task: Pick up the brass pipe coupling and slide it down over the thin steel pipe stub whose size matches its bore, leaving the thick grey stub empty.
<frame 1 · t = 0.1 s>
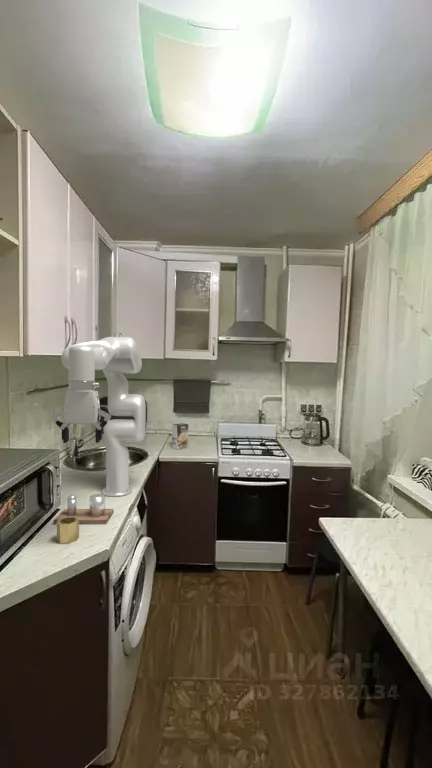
hand: (82, 442, 114), 31 cm above the worktop, tool pointing down, fingers open, 9 cm apart
pipe stubs: (86, 504, 132), on the pipe board, point 5 cm above the worktop
pipe board: (84, 518, 132), on the worktop
brass coupling: (68, 539, 116), on the worktop
coffee box: (180, 448, 249), on the worktop
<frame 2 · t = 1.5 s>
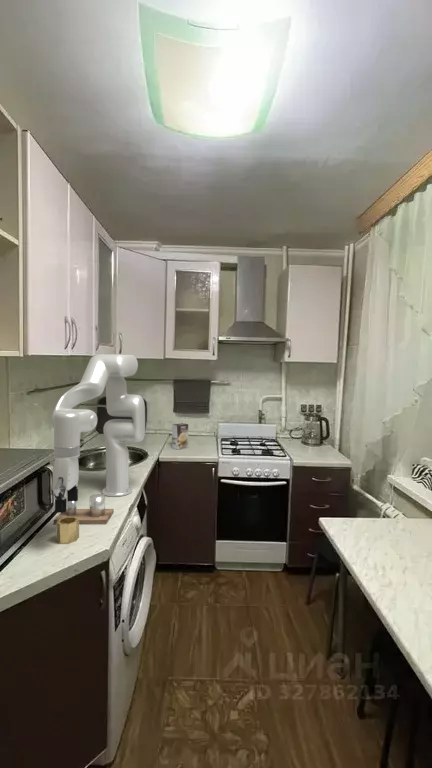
hand: (66, 506, 115), 11 cm above the worktop, tool pointing down, fingers open, 9 cm apart
nothing on the worktop moved.
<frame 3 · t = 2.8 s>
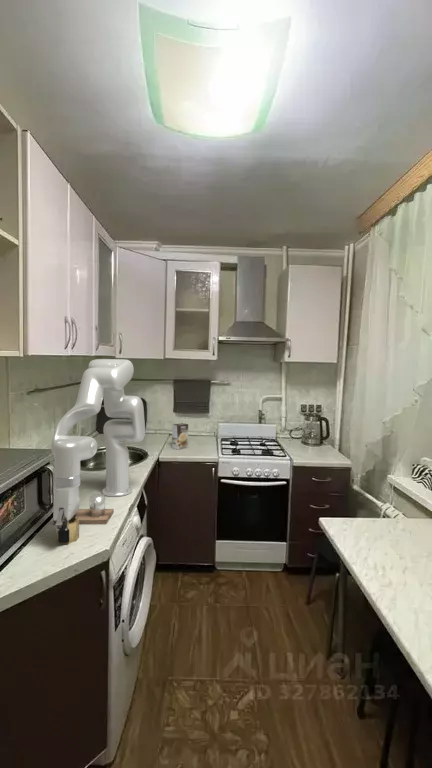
hand: (68, 536, 116), 1 cm above the worktop, tool pointing down, fingers closed on brass coupling, 6 cm apart
brass coupling: (68, 539, 116), on the worktop, touching gripper
everything else where it was.
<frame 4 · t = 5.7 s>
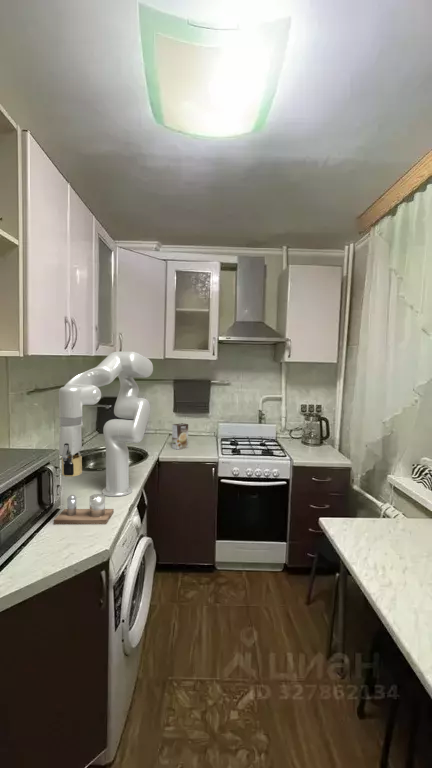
hand: (72, 471, 131), 17 cm above the worktop, tool pointing down, fingers closed on brass coupling, 6 cm apart
brass coupling: (72, 473, 131), point 16 cm above the worktop, touching gripper
everything else where it was.
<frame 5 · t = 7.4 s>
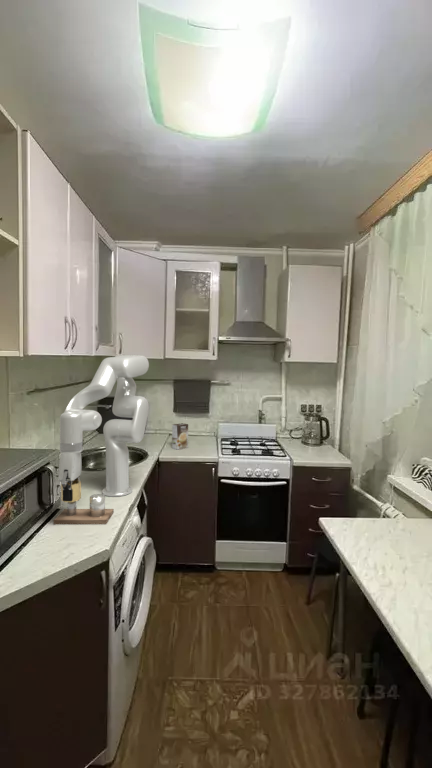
hand: (71, 497, 131), 8 cm above the worktop, tool pointing down, fingers closed on brass coupling, 6 cm apart
brass coupling: (71, 499, 131), point 7 cm above the worktop, touching gripper
everything else where it was.
when the fingers open (5 cm above the worktop, at t = 8.5 s): brass coupling drops 2 cm, resting on pipe board.
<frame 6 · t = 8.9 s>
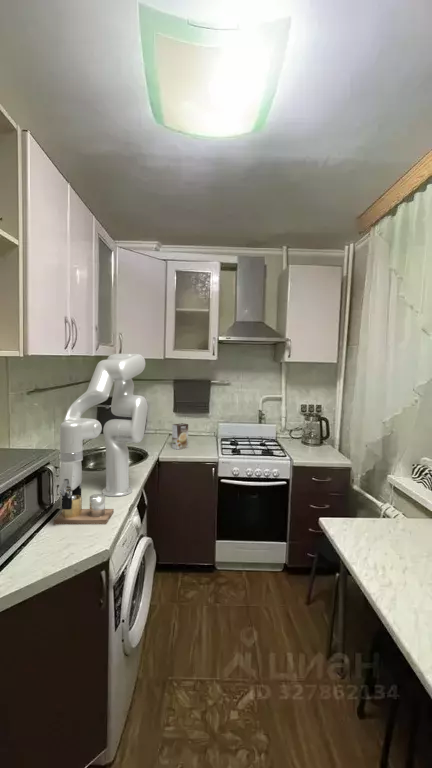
hand: (71, 503, 132), 5 cm above the worktop, tool pointing down, fingers open, 9 cm apart
brass coupling: (72, 514, 132), point 1 cm above the worktop, touching pipe board
everything else where it was.
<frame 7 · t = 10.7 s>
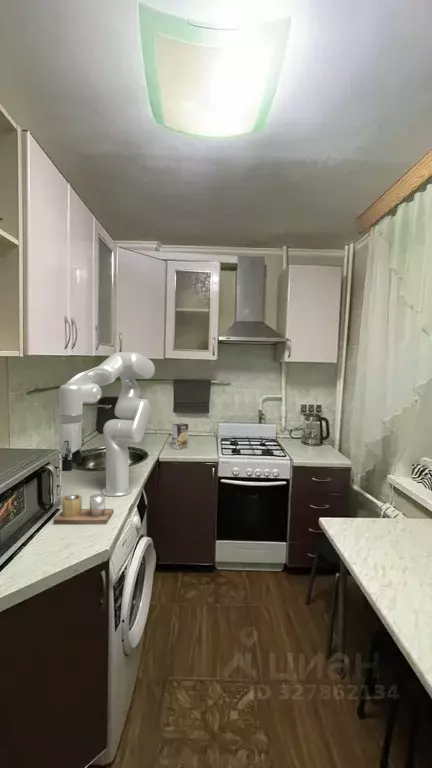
hand: (72, 466, 132), 18 cm above the worktop, tool pointing down, fingers open, 9 cm apart
nothing on the worktop moved.
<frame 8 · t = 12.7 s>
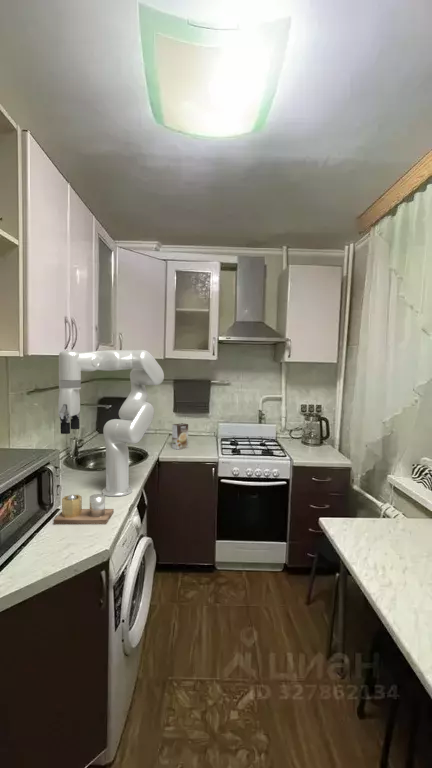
hand: (70, 431, 137), 30 cm above the worktop, tool pointing down, fingers open, 9 cm apart
nothing on the worktop moved.
at the end: brass coupling 0.1 cm from the target spot on the pipe board, point 1.5 cm above the pipe board's base; brass coupling tilted 0°; the gripper is holding nothing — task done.
